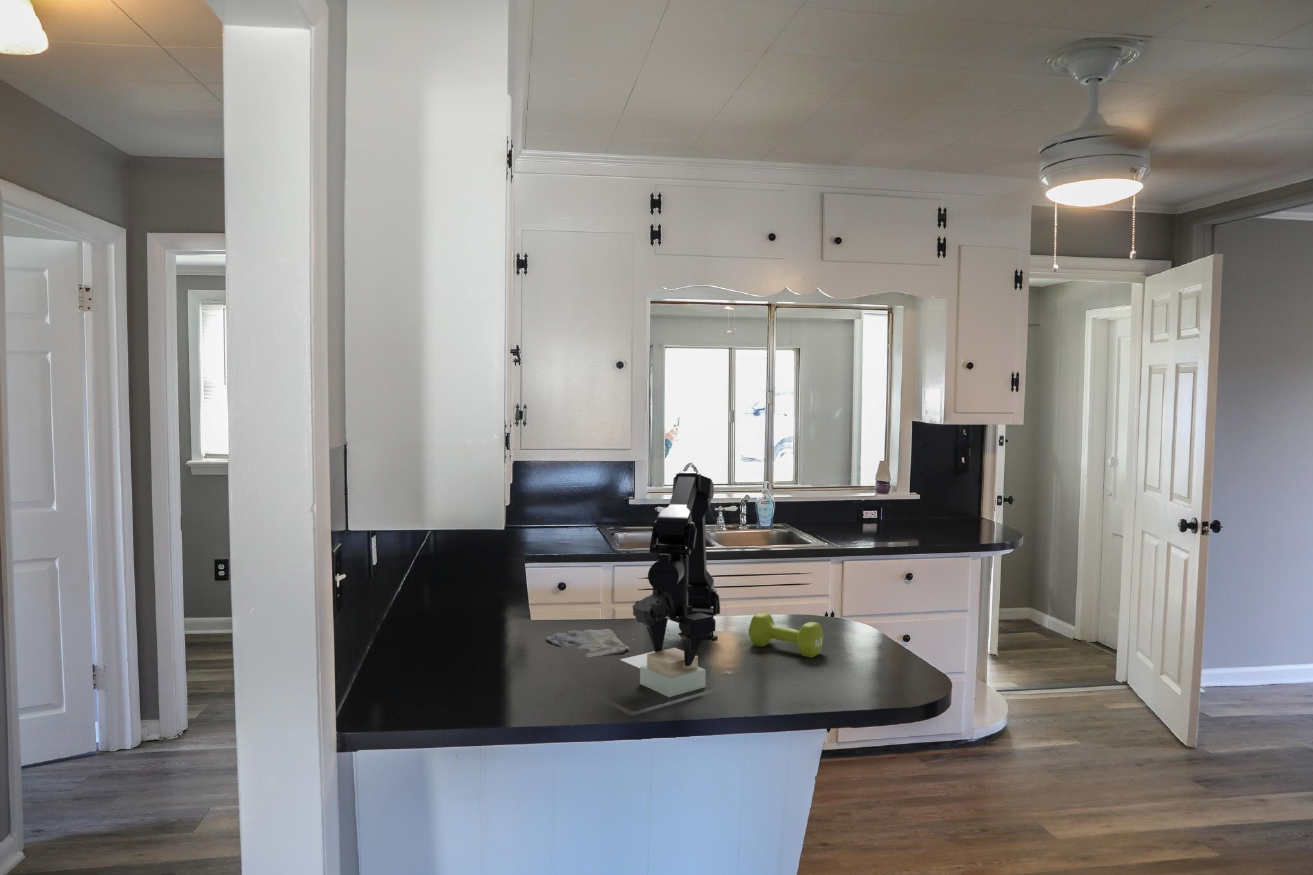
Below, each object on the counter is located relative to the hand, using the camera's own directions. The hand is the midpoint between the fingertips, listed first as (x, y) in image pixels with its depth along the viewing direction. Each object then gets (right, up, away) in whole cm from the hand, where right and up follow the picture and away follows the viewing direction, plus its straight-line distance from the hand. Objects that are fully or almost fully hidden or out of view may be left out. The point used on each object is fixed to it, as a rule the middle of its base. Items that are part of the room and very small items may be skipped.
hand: (672, 659), depth 161 cm
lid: (0, -2, 0) cm, 2 cm away
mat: (-4, -5, +15) cm, 16 cm away
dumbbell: (+26, -5, +26) cm, 37 cm away
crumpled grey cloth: (-18, -5, +27) cm, 33 cm away
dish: (0, -6, 0) cm, 6 cm away
